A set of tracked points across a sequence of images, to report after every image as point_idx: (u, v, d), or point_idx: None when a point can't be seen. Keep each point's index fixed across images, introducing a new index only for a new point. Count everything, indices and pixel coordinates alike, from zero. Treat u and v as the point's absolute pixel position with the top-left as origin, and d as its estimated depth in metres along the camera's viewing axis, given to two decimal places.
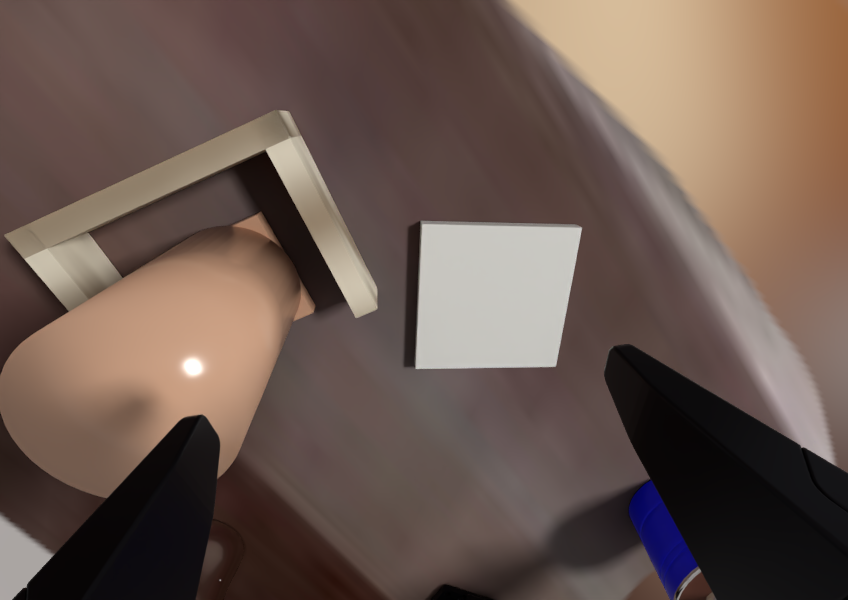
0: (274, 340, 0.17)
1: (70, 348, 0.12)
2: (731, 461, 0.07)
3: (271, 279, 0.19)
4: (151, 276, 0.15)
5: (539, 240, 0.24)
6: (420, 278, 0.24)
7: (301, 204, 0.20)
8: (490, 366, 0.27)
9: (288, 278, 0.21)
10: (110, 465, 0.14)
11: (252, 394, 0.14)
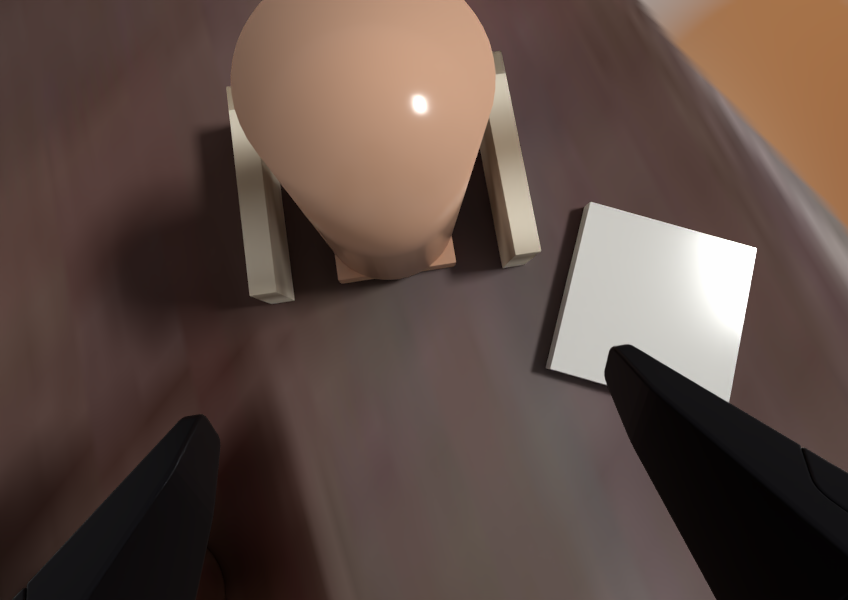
0: None
1: None
2: (731, 461, 0.07)
3: None
4: None
5: (710, 250, 0.22)
6: (578, 257, 0.22)
7: (496, 128, 0.20)
8: None
9: None
10: (311, 127, 0.11)
11: None
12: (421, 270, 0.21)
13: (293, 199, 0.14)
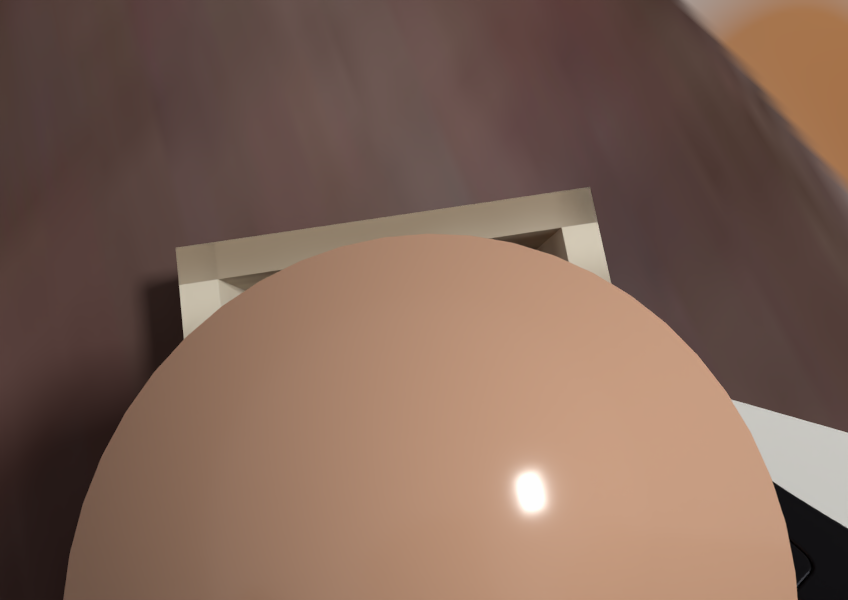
0: None
1: (409, 308, 0.04)
2: None
3: None
4: None
5: None
6: None
7: None
8: None
9: None
10: None
11: None
12: None
13: None
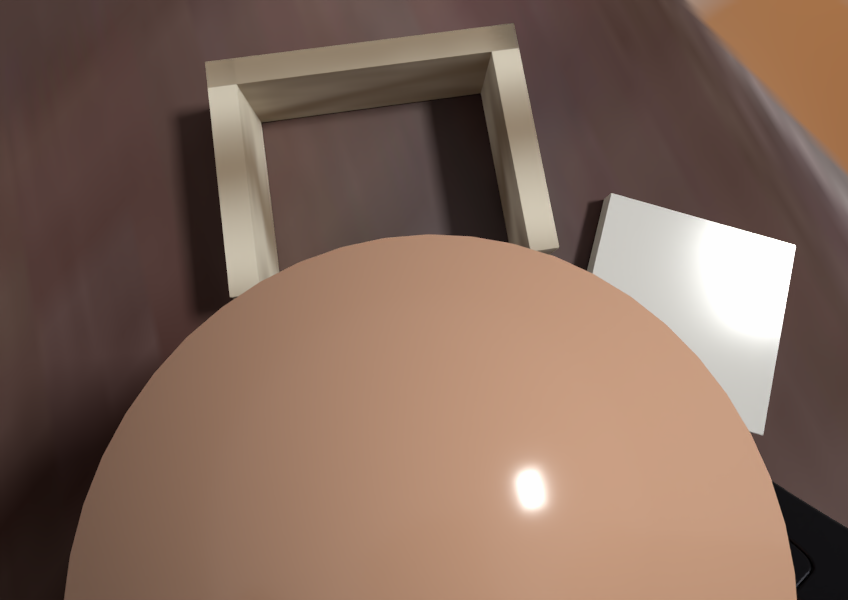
0: None
1: (409, 309, 0.04)
2: None
3: None
4: None
5: (745, 247, 0.20)
6: (597, 254, 0.20)
7: (509, 109, 0.18)
8: None
9: None
10: None
11: None
12: None
13: None
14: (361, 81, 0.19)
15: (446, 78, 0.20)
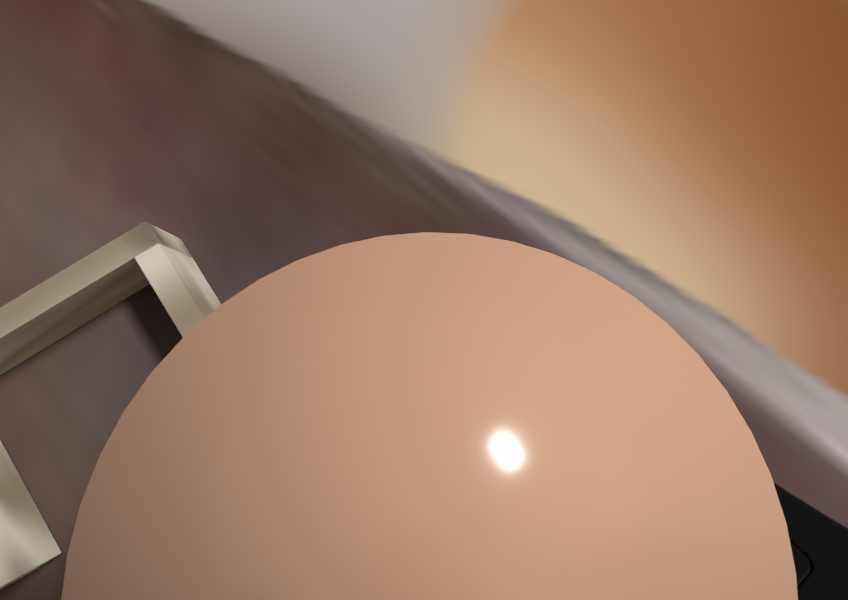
0: None
1: (409, 307, 0.04)
2: None
3: None
4: None
5: None
6: None
7: (170, 305, 0.19)
8: None
9: None
10: None
11: None
12: None
13: None
14: (32, 330, 0.19)
15: (118, 285, 0.20)
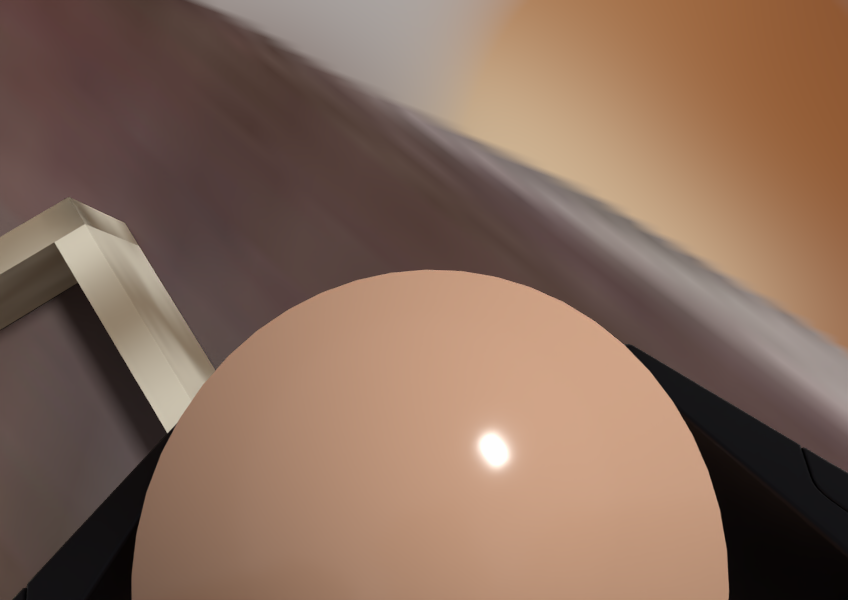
0: None
1: (411, 332, 0.05)
2: (731, 461, 0.07)
3: None
4: None
5: None
6: None
7: (98, 302, 0.15)
8: None
9: None
10: None
11: None
12: None
13: None
14: None
15: (40, 278, 0.16)
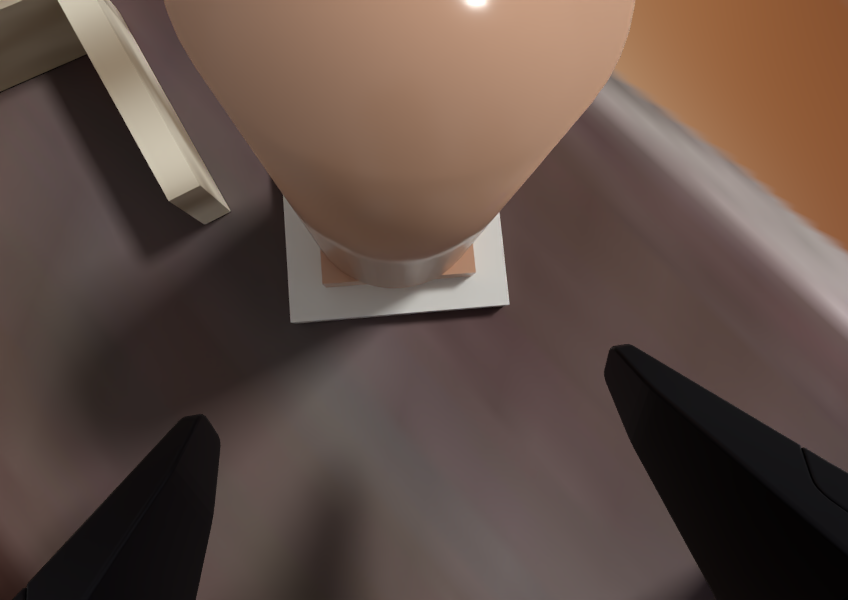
0: None
1: None
2: (731, 461, 0.07)
3: None
4: None
5: None
6: None
7: (93, 49, 0.15)
8: (407, 310, 0.18)
9: None
10: (303, 33, 0.06)
11: None
12: (431, 279, 0.17)
13: (265, 168, 0.08)
14: None
15: (33, 38, 0.17)
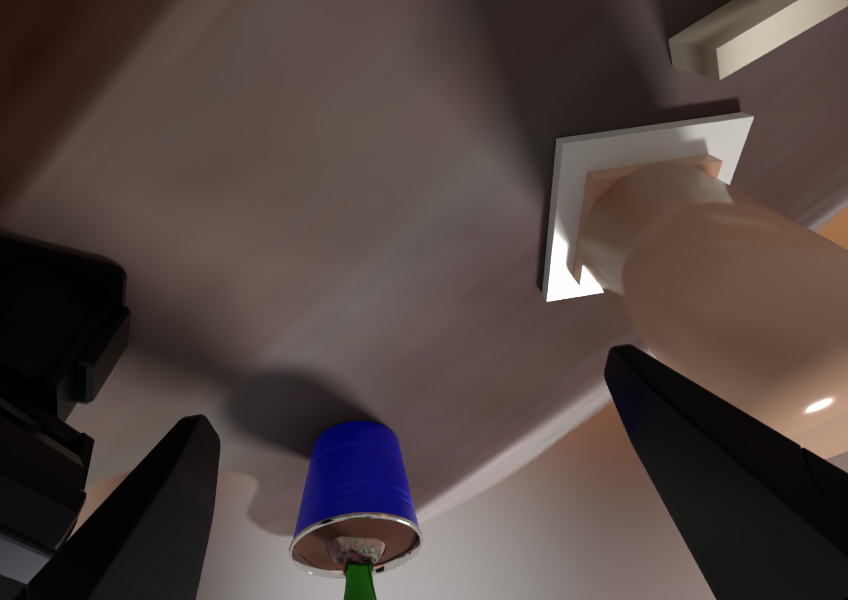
0: None
1: None
2: (731, 461, 0.07)
3: None
4: None
5: None
6: (688, 126, 0.19)
7: None
8: (555, 235, 0.22)
9: None
10: (833, 374, 0.12)
11: None
12: (582, 260, 0.22)
13: (752, 279, 0.13)
14: None
15: None
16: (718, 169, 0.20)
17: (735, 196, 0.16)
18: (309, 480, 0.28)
